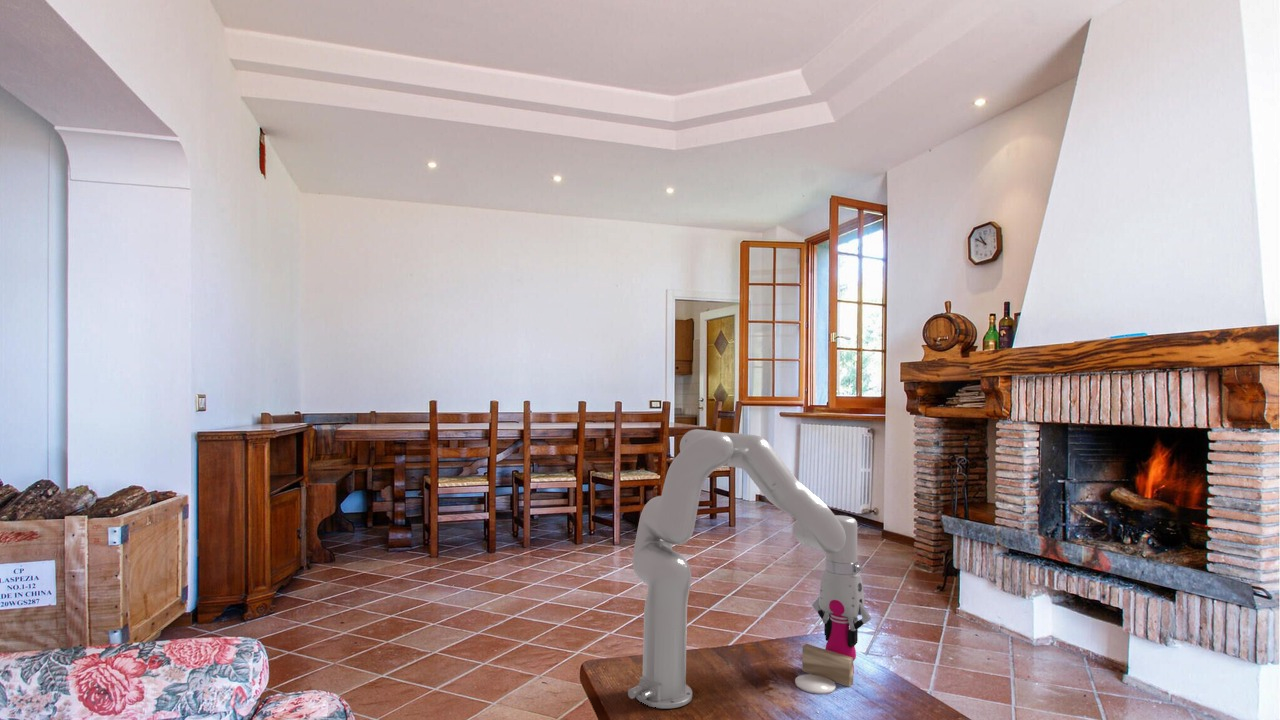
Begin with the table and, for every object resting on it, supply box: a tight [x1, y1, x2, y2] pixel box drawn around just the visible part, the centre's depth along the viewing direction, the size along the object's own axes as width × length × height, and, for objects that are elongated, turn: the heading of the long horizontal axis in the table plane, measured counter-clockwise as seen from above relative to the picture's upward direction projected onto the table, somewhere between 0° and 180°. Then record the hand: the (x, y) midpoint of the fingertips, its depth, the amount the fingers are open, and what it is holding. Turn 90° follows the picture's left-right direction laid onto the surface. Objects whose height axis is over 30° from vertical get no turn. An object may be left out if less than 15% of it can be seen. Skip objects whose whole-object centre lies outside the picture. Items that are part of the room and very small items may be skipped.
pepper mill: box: [824, 600, 857, 674], centre depth 160 cm, size 7×7×20 cm
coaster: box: [794, 673, 836, 695], centre depth 151 cm, size 9×9×1 cm
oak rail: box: [801, 643, 854, 688], centre depth 155 cm, size 2×12×6 cm, turn 47°
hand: (840, 641), depth 159 cm, fingers closed on pepper mill, 5 cm apart
